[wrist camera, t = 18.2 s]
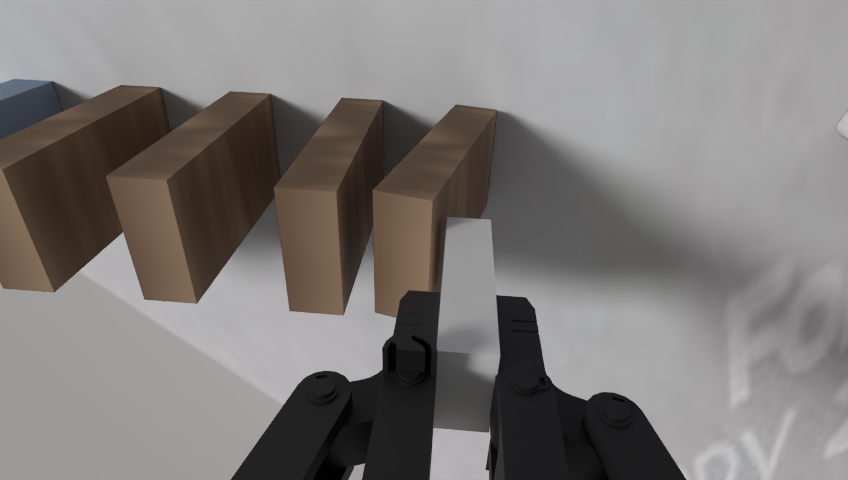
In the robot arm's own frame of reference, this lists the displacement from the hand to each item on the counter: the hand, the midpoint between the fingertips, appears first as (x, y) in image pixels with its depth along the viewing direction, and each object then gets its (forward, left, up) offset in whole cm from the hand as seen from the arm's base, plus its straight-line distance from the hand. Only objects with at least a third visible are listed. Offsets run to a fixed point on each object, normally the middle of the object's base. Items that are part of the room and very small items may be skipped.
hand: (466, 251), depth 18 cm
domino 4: (0, 0, -9) cm, 9 cm away
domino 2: (+11, 0, -9) cm, 14 cm away
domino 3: (+5, 0, -9) cm, 10 cm away
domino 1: (+16, 0, -9) cm, 19 cm away
